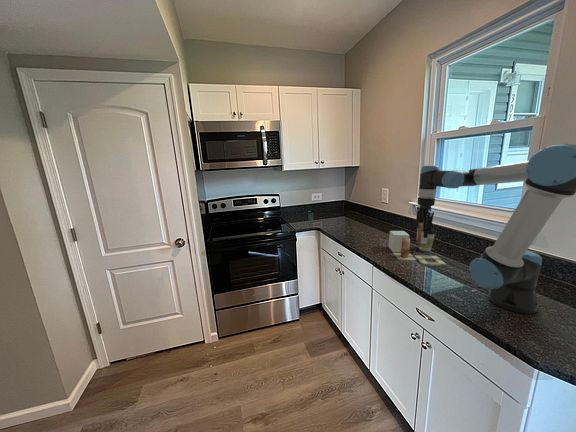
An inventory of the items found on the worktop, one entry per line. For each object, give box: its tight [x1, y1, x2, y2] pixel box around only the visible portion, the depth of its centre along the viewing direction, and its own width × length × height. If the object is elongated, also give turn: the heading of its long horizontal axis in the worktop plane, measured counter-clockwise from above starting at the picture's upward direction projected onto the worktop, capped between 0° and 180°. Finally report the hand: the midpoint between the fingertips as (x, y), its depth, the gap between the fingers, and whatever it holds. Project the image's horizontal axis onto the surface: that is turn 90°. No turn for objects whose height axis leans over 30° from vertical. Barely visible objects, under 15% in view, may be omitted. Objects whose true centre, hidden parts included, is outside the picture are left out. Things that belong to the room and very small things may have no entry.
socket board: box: [413, 254, 447, 267], centre depth 140 cm, size 12×12×2 cm
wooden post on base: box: [392, 237, 417, 261], centre depth 147 cm, size 11×10×12 cm
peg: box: [416, 222, 426, 246], centre depth 127 cm, size 4×4×11 cm
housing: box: [388, 230, 410, 253], centre depth 158 cm, size 9×9×13 cm
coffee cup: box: [418, 227, 436, 252], centre depth 157 cm, size 10×10×15 cm
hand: (421, 241), depth 128 cm, fingers closed on peg, 4 cm apart
